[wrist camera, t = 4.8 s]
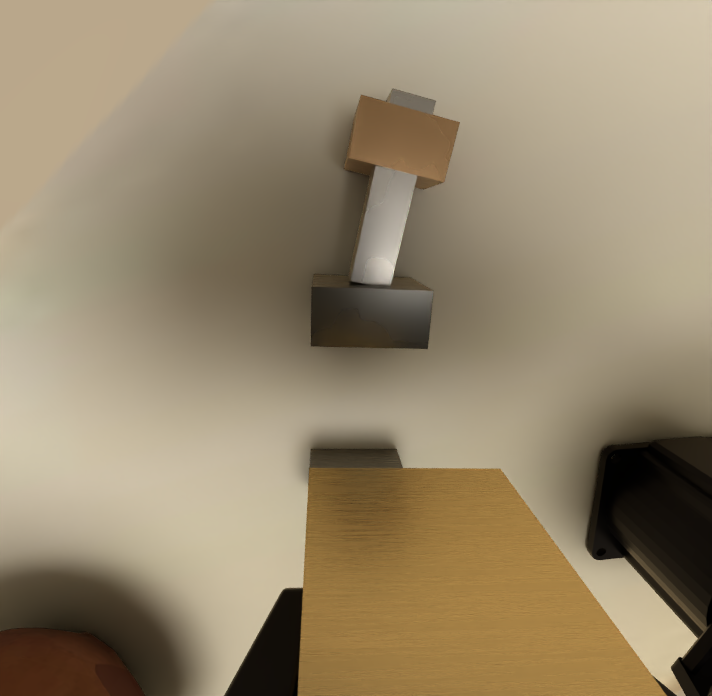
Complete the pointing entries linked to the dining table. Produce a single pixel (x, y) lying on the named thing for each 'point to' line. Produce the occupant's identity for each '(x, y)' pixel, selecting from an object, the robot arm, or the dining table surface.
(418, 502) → the coupler
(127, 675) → the butternut squash
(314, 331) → the shaft rig
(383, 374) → the dining table surface
